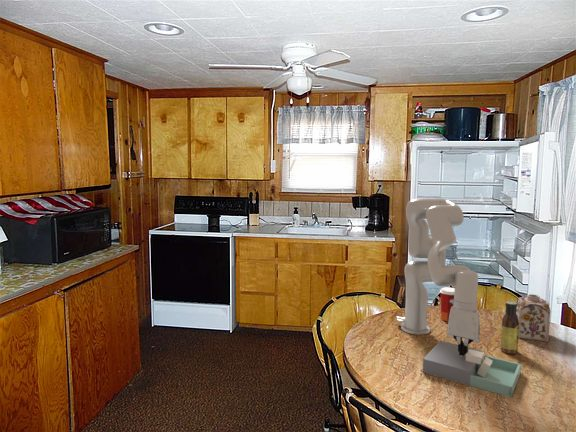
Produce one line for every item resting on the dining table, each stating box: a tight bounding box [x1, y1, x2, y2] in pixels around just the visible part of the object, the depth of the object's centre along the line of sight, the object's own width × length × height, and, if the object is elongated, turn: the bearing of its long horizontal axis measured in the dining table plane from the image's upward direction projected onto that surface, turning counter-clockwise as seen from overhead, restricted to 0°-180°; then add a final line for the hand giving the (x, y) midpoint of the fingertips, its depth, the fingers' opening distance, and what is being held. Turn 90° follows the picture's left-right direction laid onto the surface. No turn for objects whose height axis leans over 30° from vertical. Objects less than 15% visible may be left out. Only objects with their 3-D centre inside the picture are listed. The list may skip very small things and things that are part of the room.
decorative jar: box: [515, 293, 551, 343], centre depth 186 cm, size 12×12×18 cm
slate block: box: [422, 340, 485, 387], centre depth 156 cm, size 16×20×5 cm
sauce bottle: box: [500, 301, 520, 355], centre depth 169 cm, size 7×6×20 cm
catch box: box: [469, 354, 522, 398], centre depth 147 cm, size 12×20×4 cm, turn 144°
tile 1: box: [466, 349, 485, 365], centre depth 151 cm, size 5×5×2 cm
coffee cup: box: [439, 286, 455, 322], centre depth 205 cm, size 8×8×15 cm
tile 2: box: [477, 357, 493, 377], centre depth 149 cm, size 5×5×2 cm
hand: (462, 354), depth 153 cm, fingers closed
